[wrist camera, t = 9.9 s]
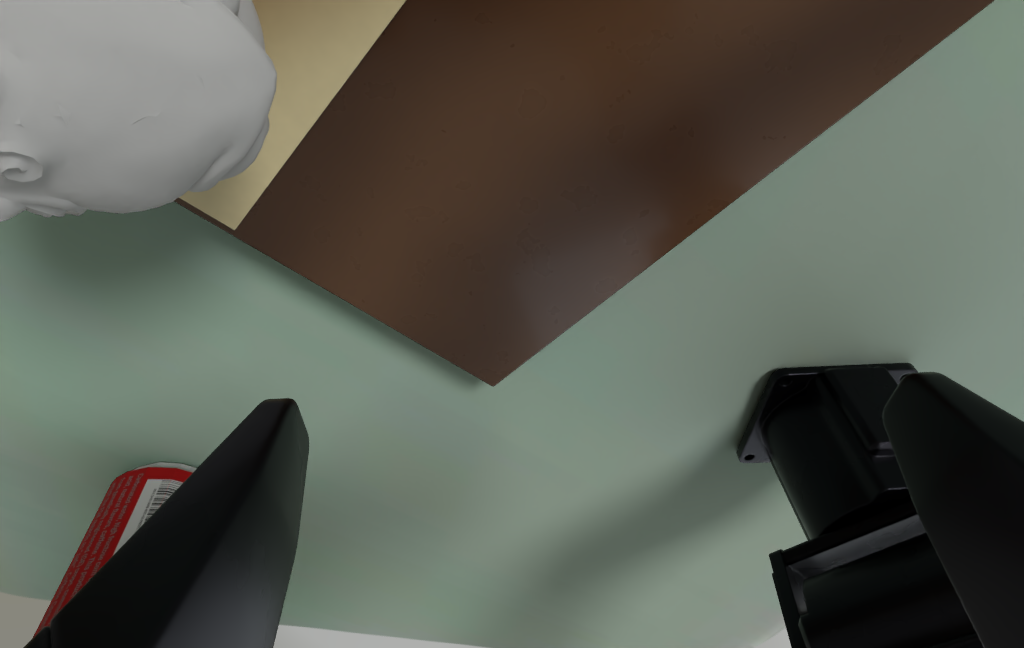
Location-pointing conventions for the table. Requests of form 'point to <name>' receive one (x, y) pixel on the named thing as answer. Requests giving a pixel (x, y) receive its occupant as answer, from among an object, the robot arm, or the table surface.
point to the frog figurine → (127, 101)
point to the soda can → (117, 524)
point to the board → (535, 144)
